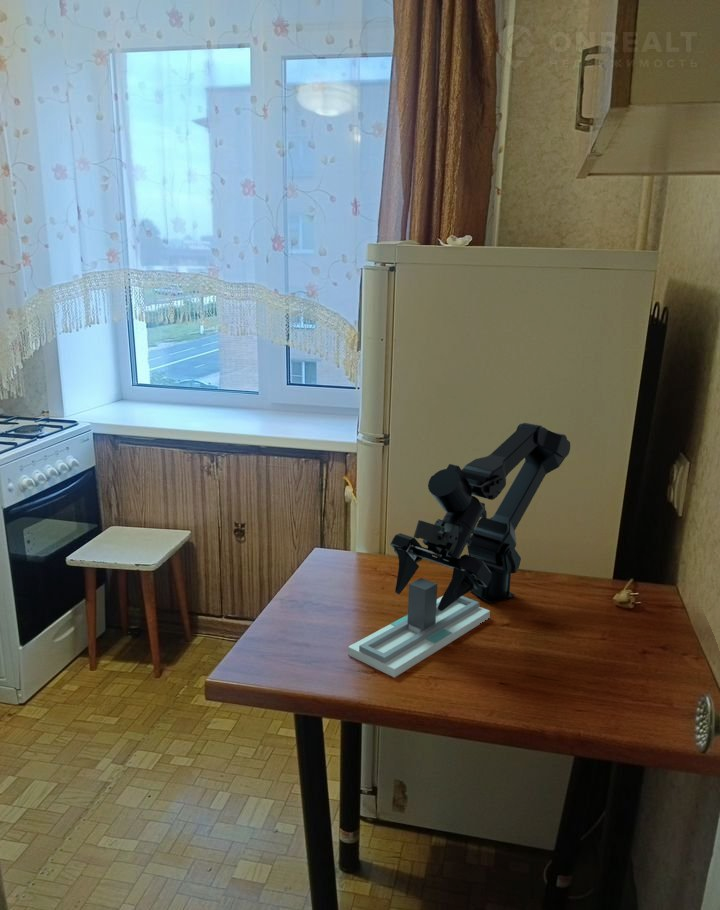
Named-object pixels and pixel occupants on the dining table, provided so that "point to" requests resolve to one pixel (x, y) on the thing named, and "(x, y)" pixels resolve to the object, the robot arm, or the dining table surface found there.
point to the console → (417, 637)
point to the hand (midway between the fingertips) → (417, 601)
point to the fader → (422, 605)
